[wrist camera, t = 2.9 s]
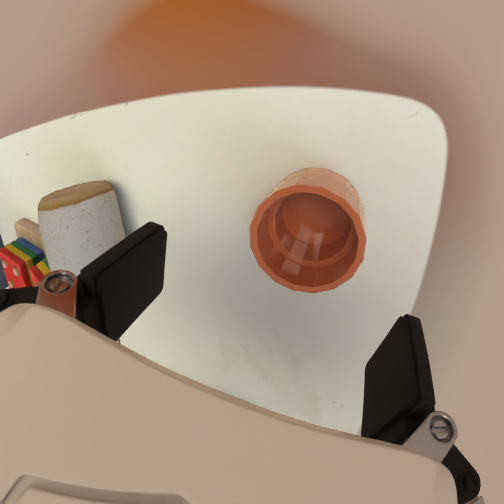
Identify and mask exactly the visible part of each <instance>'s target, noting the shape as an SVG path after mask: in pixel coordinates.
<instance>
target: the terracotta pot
mask: <svg viewBox="0 0 504 504" xmlns="http://www.w3.org/2000/svg"><path fill="white" fill-rule="evenodd" d="M250 244H251V249H252V251H253V253H254V255H255V258H256V260H257V262H258V264H259V266H260V267H261V268H262V269H263V270H264V271H265V272H266V273H267V274H268V275H269V276H270V277H271V278H272V279H273V280H274V281H275V282H277V283H279V284H281V285H283V286H285V287H287V288H289V289H291V290H294V291H301V292H309V293H317V292H322V291H327V290H331V289H335V288H336V287H338V286H339V285H341V284H342V283H344V282H346V281H347V280H349V279H350V278H351V277H352V276H353V275H354V273H355V272H356V270H357V269H358V267H359V266H360V264H361V263H362V261H363V258H364V251H365V245H366V231H365V222H364V212H363V207H362V204H361V201H360V197H359V194H358V193H357V191H356V190H355V189H354V187H353V186H352V185H351V184H350V183H349V182H348V180H347V179H345V178H344V177H342V176H340V175H338V174H337V173H335V172H333V171H331V170H328V169H320V168H306V169H303V170H300V171H297V172H294V173H292V174H290V175H289V176H288V177H287V178H286V179H284V180H283V181H282V182H281V183H280V184H279V185H278V186H277V187H276V188H275V189H274V190H273V191H272V192H271V193H270V194H269V195H268V197H267V198H266V199H265V200H264V201H263V202H262V203H261V204H260V205H259V206H258V208H257V210H256V213H255V215H254V217H253V220H252V222H251V225H250Z"/></svg>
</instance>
